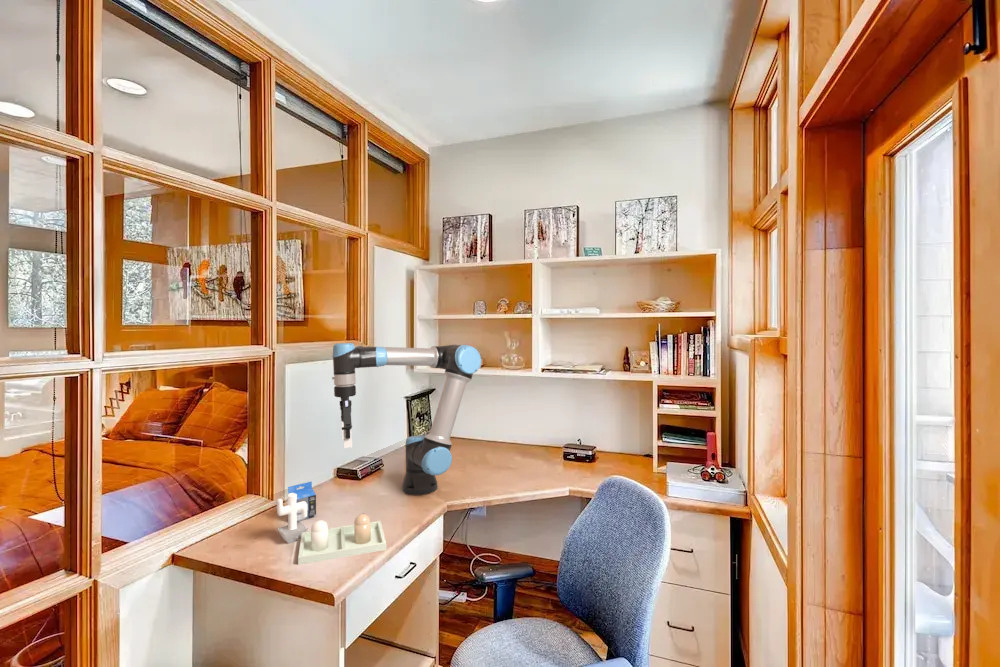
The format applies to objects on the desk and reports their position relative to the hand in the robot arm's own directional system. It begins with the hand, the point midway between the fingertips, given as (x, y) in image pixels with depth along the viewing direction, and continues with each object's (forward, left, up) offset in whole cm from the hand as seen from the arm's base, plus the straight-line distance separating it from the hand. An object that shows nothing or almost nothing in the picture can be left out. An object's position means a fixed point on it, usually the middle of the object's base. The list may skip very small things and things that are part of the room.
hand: (346, 443), depth 169 cm
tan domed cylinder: (-4, +24, -27) cm, 36 cm away
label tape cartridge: (+16, -5, -28) cm, 32 cm away
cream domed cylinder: (+9, +24, -27) cm, 37 cm away
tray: (+2, +24, -28) cm, 36 cm away
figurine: (+18, +12, -28) cm, 35 cm away
